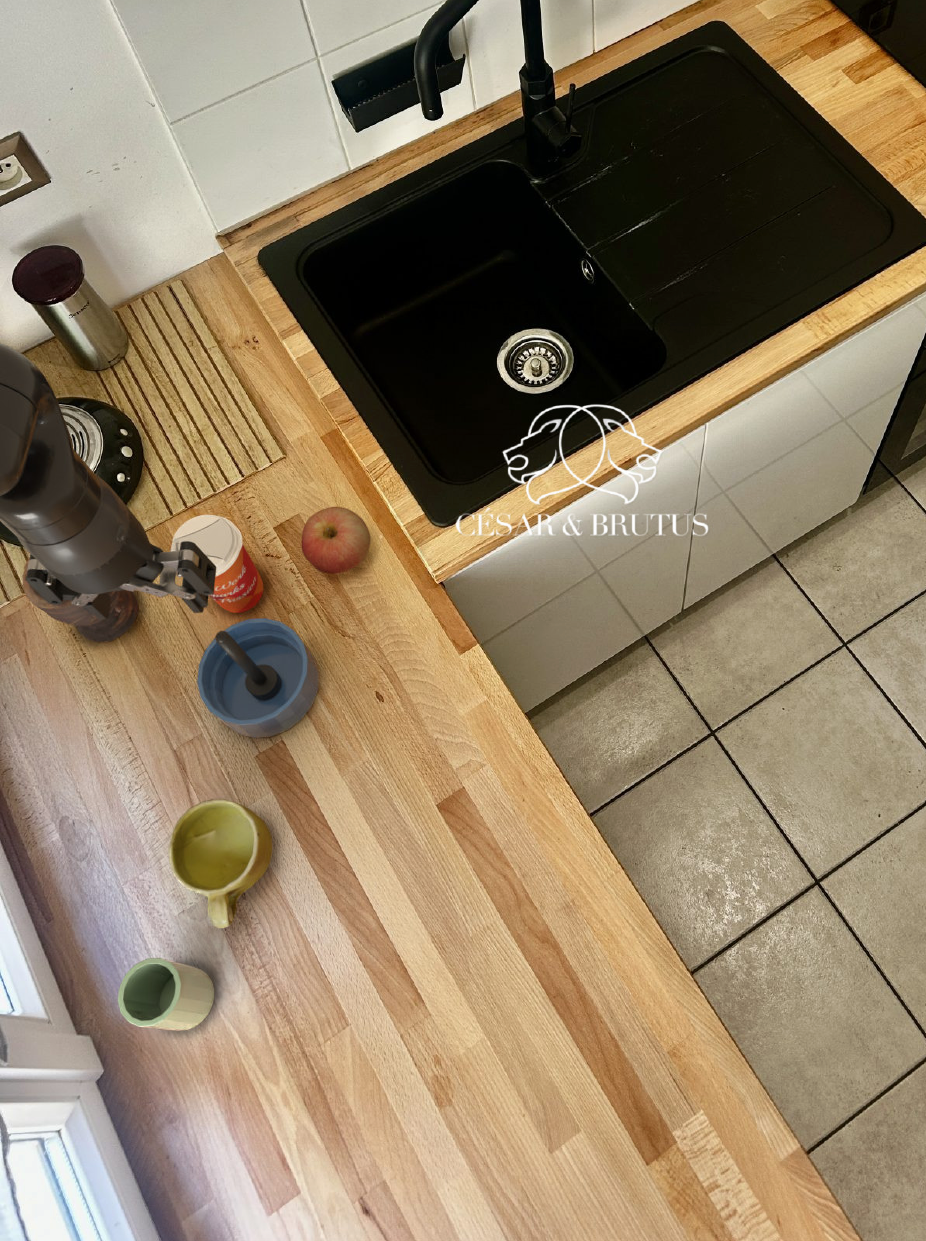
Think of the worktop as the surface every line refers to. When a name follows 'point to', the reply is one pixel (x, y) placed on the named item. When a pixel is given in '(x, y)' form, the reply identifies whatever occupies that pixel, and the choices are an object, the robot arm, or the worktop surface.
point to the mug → (220, 854)
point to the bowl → (227, 680)
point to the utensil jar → (165, 995)
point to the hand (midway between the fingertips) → (153, 606)
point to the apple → (335, 540)
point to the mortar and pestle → (89, 624)
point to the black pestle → (251, 669)
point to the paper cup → (224, 561)
